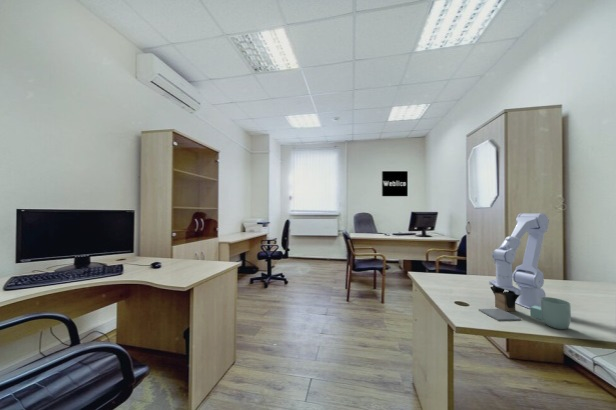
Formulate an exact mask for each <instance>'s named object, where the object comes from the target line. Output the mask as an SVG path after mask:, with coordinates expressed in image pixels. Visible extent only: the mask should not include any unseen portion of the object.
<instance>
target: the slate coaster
mask: <svg viewBox="0 0 616 410" xmlns="http://www.w3.org/2000/svg"><path fill="white" fill-rule="evenodd" d="M478 312H480V313H483V314H485V315H487V316H489V317H490V318H492V319H494V320H496V321H499V322H500V321H522V318H520V317H518V316H516V315H515V314H512V313H510V312H509V311H504V310H502V309H499V308H478Z"/></svg>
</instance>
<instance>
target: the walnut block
mask: <svg viewBox="0 0 616 410" xmlns="http://www.w3.org/2000/svg"><path fill="white" fill-rule="evenodd" d="M494 305H495V306H494V307H495V308H496V309H502V310H504V311H506V312H516V303H515V304H514V307H513V308H508V306H507V299H506V296H505V294H504V293H495V295H494Z"/></svg>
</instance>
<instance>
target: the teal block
mask: <svg viewBox="0 0 616 410" xmlns="http://www.w3.org/2000/svg"><path fill="white" fill-rule="evenodd" d="M529 310H530V311H529V312H530V317H531V318H536V319H538V320H541V321H543V319H542V315H541V307H539V306H532V307H530V309H529Z"/></svg>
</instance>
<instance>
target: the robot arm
mask: <svg viewBox="0 0 616 410" xmlns="http://www.w3.org/2000/svg"><path fill="white" fill-rule="evenodd" d="M515 221H516V225H515V227H514V229H513V230H512V233H511V234H510V236H506V237H505V238H504V240H503V241H502V243H501V244H500V246H499V247H498V248H496V249H494V250H493V252H492V254H491V257H492V259H493V261H494V262H493V263H494V265H495V277H496V279H495V280H493V279H492V280H490V279H489V280H488V281H489V283H488V285H490V289H491V291H492V293H493V295H494V296H495V293H504V294H505V296H506V299H507V306H508V308H513V307H514V304H515V305H516V304H517V305H519V306H522V307H525V308H527V309H529V310H530V307H532V306H539V307H541V298H542V297H547V296H546V292H545V290H544V289H543V288H542V287H543V285H544V284H545V280H544V272H543V271H542V270H540V269H539V267H538V265H539V262H540V261H539V260H540V257H541V256H540V255H541V251H542V246H543V241H544V238H545V237H544V236H545V233H546V232H548V228H549V223H550V219H549V217H548V216H547V215H546V213H544V212H540V213H538V212H537V213H524V212H521V213H519V214H517V217H516V218H515ZM526 232H527V233H528V236H527V241H526V246H525V251H524V255H523V259H522V264H520V265H517V266H516V267H515V270H513V263H514V261H515V260H516V256H517V250H518V248H520V246H521V245H522V242H521V239H522V238H523V236H525V234H526ZM513 282H514V283H515V285H517V287H516V286H514V285H513Z"/></svg>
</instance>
